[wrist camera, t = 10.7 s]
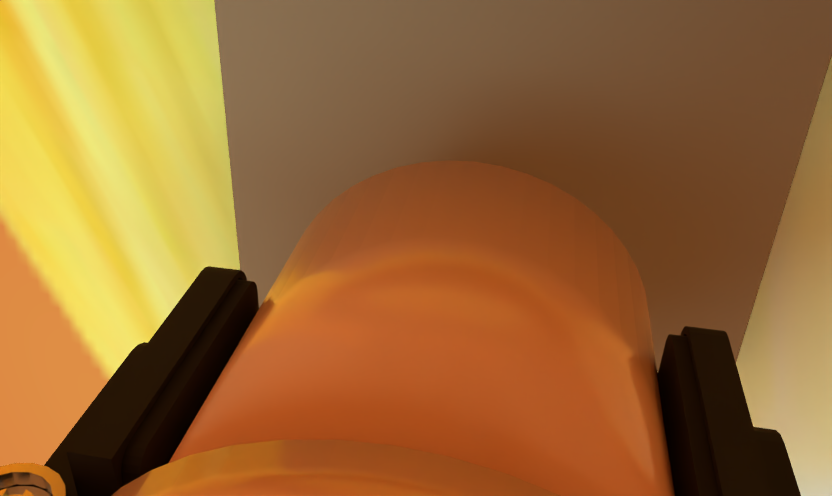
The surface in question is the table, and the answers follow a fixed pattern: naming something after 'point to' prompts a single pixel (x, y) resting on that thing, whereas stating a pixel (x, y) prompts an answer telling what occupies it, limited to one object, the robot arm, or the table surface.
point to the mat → (537, 121)
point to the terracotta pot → (438, 354)
